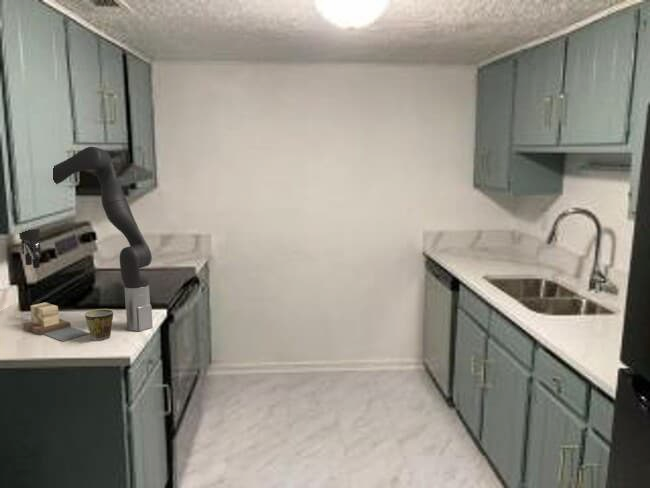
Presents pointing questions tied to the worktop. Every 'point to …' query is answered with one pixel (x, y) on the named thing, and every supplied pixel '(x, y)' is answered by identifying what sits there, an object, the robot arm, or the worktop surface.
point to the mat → (66, 334)
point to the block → (44, 314)
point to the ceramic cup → (99, 323)
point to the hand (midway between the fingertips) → (32, 266)
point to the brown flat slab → (47, 329)
